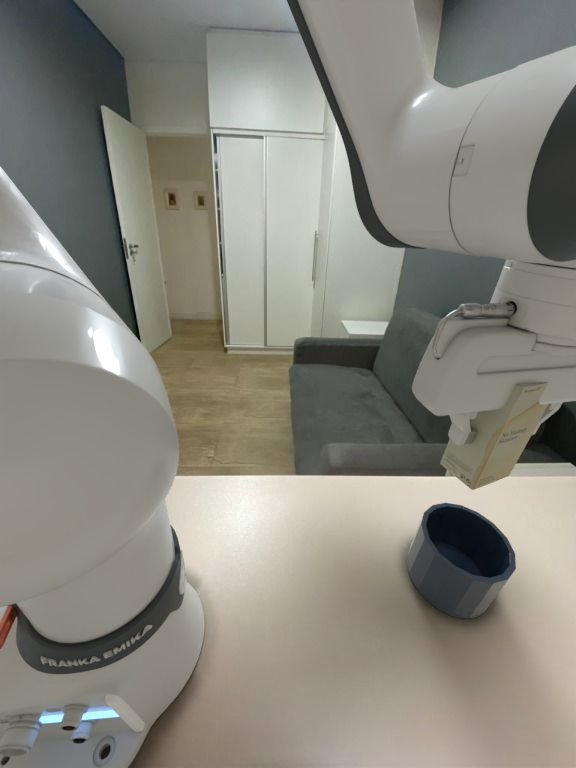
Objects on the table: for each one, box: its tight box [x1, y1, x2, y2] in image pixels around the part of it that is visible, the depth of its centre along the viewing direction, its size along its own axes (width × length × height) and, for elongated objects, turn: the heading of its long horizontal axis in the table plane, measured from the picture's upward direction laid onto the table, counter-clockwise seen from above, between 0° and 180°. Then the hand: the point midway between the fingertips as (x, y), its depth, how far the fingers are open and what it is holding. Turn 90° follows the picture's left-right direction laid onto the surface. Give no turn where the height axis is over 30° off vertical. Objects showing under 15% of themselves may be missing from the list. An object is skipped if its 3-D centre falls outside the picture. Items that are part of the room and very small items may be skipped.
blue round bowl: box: [406, 502, 517, 619], centre depth 40 cm, size 10×10×8 cm
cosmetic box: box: [439, 382, 549, 491], centre depth 31 cm, size 6×4×12 cm
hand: (490, 436), depth 32 cm, fingers closed on cosmetic box, 6 cm apart
